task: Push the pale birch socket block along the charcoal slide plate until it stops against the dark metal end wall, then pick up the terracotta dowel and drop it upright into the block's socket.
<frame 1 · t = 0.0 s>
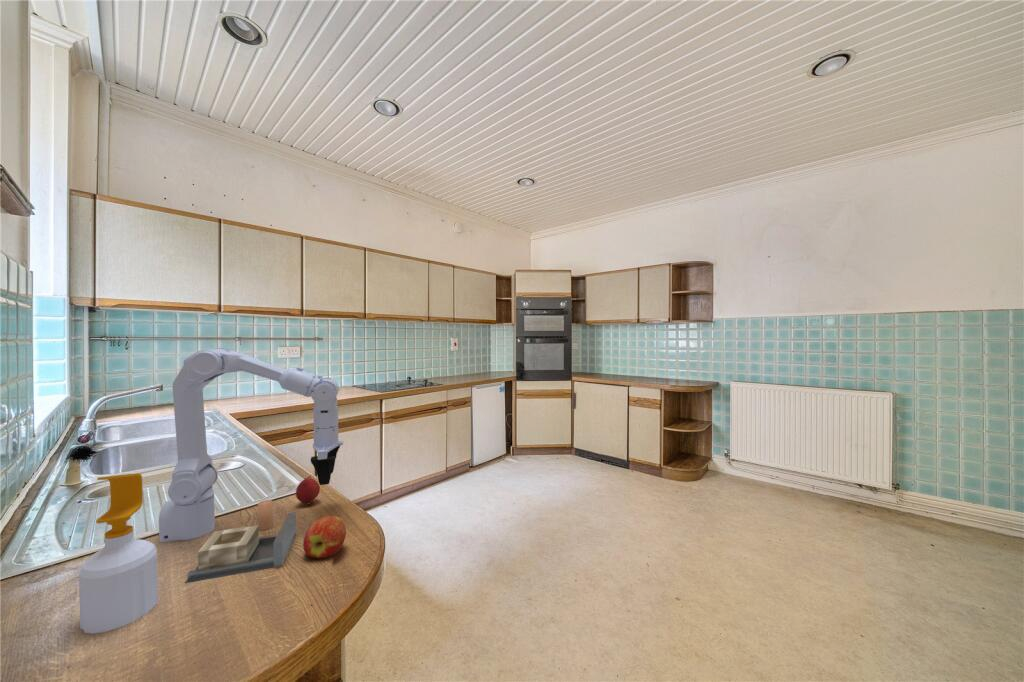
hand: (326, 478, 98), 10 cm above the counter, tool pointing down, fingers open, 7 cm apart
apple: (326, 555, 82), on the counter
slide base: (246, 560, 80), on the counter
dowel: (265, 531, 91), on the counter
soap bottle: (121, 619, 64), on the counter
sliding block: (230, 547, 79), point 3 cm above the counter, slide at 5.0 cm
onion: (308, 504, 106), on the counter
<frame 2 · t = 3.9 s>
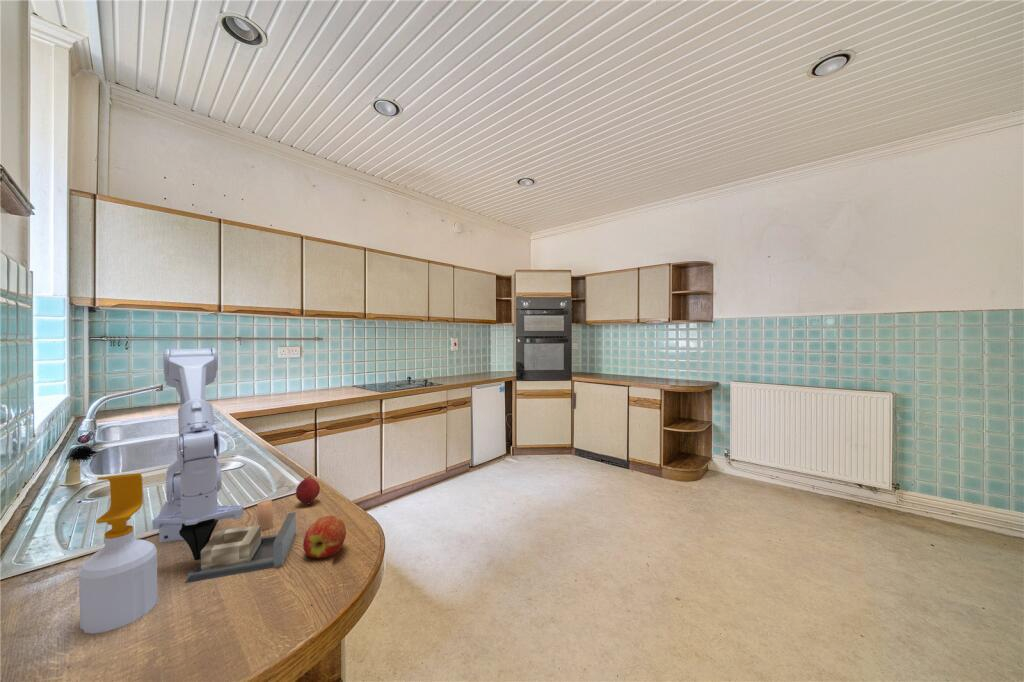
hand: (200, 557, 77), 2 cm above the counter, tool pointing down, fingers closed
sliding block: (232, 546, 79), point 3 cm above the counter, slide at 4.6 cm, touching gripper
everything else where it was.
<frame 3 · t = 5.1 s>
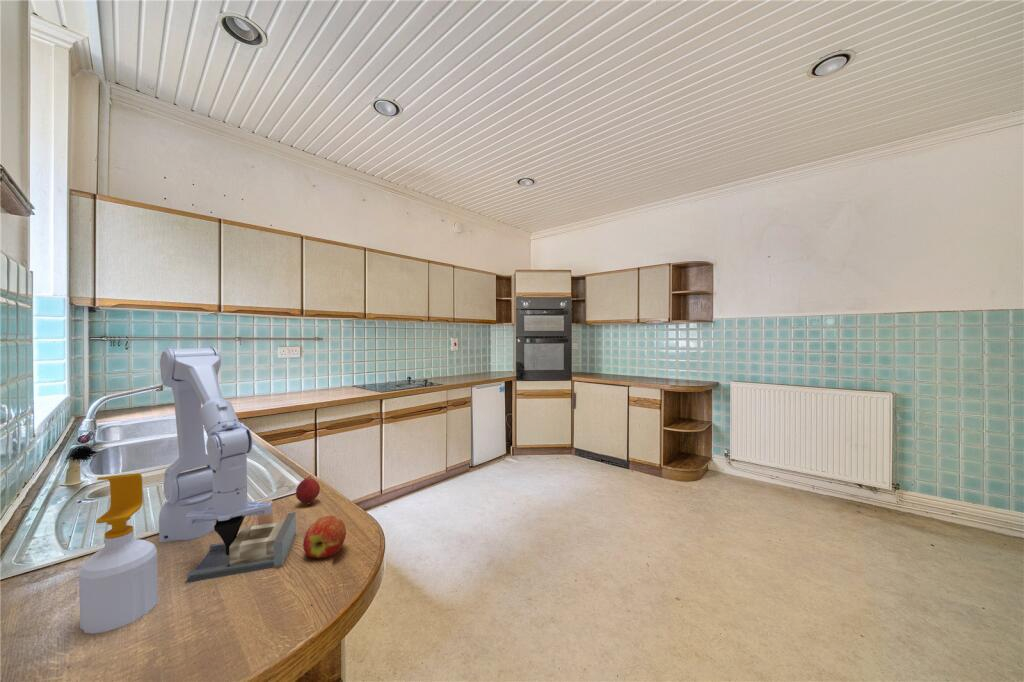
hand: (231, 552, 79), 2 cm above the counter, tool pointing down, fingers closed
sliding block: (259, 542, 81), point 3 cm above the counter, slide at -0.1 cm, touching gripper
everything else where it was.
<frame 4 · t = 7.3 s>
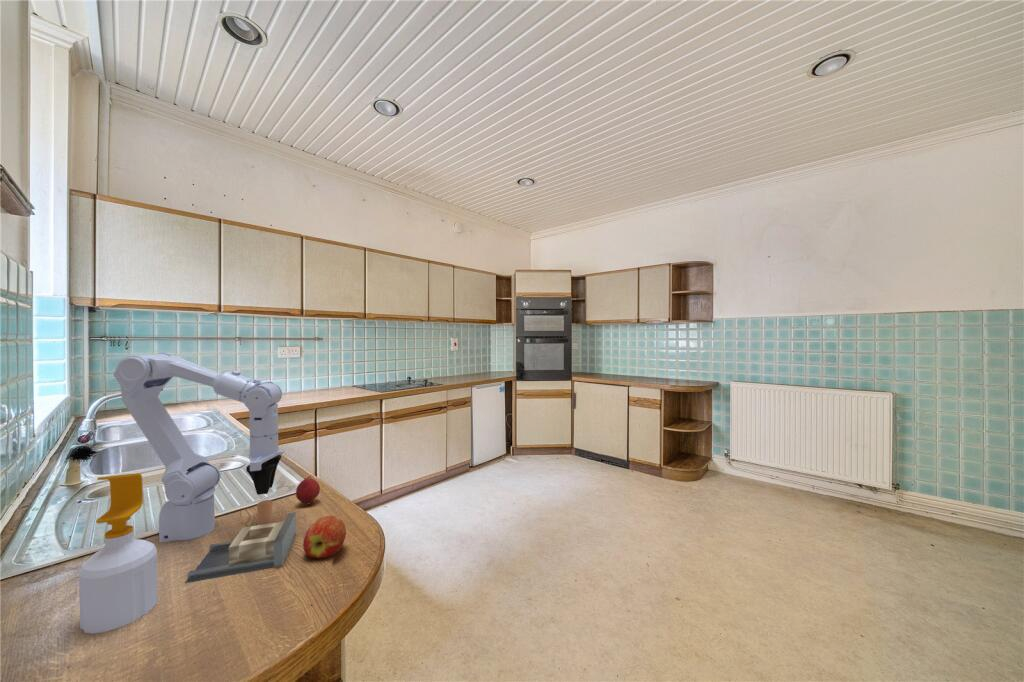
hand: (264, 490, 91), 10 cm above the counter, tool pointing down, fingers open, 3 cm apart
sliding block: (258, 542, 81), point 3 cm above the counter, slide at 0.0 cm
everything else where it was.
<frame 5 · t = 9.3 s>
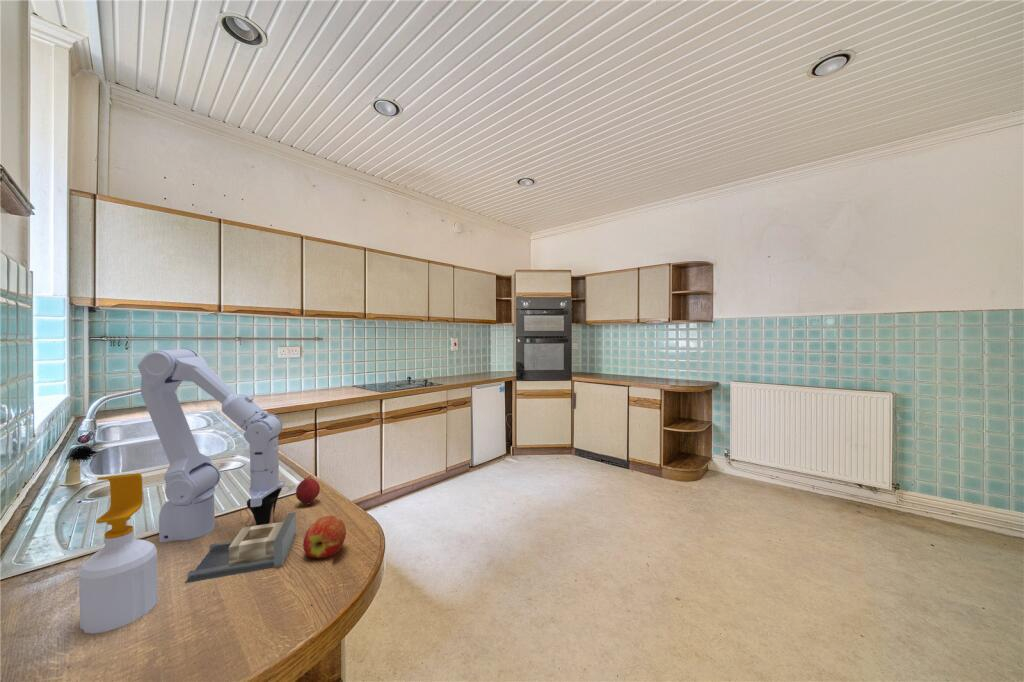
hand: (265, 523, 91), 2 cm above the counter, tool pointing down, fingers closed on dowel, 3 cm apart
dowel: (265, 531, 91), on the counter, touching gripper
everything else where it was.
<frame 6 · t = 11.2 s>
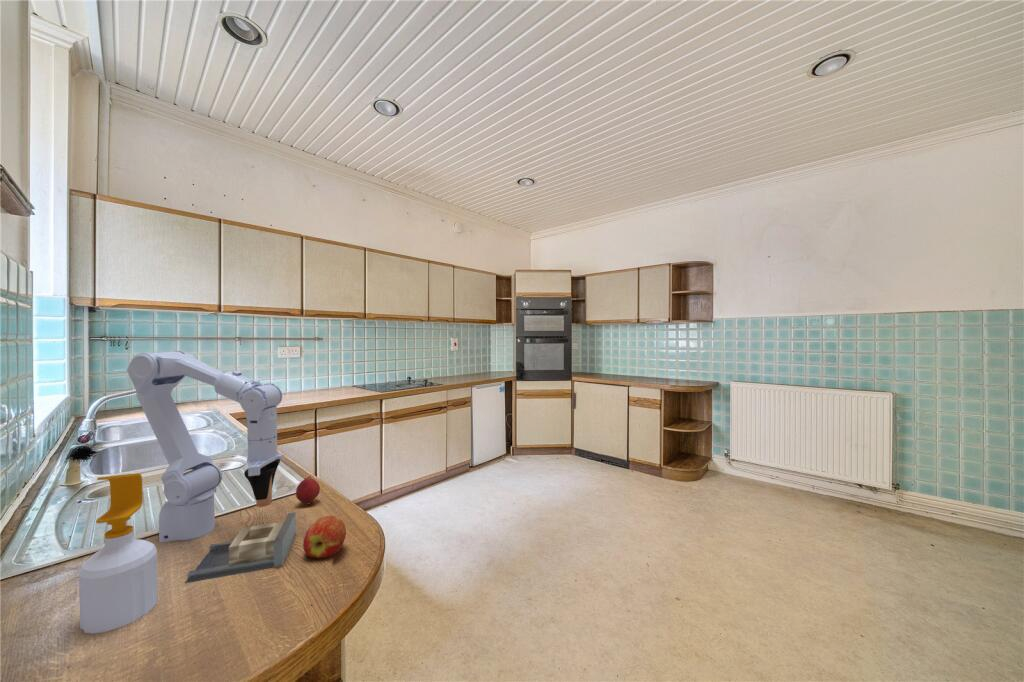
hand: (263, 495, 88), 10 cm above the counter, tool pointing down, fingers closed on dowel, 3 cm apart
dowel: (264, 503, 88), point 8 cm above the counter, touching gripper
everything else where it was.
when the fingers open (6 cm above the counter, at t = 12.6 s): dowel drops 2 cm, resting on sliding block.
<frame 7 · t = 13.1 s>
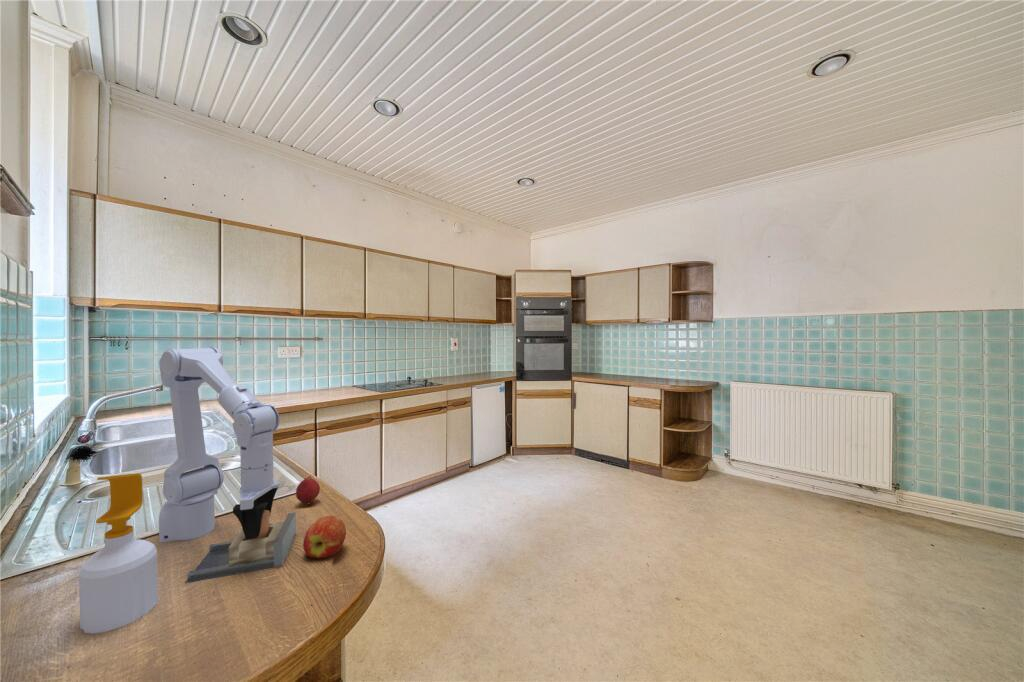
hand: (258, 528, 81), 6 cm above the counter, tool pointing down, fingers open, 7 cm apart
dowel: (258, 546, 81), point 3 cm above the counter, touching sliding block
sliding block: (258, 542, 81), point 3 cm above the counter, slide at 0.0 cm, touching dowel
everything else where it was.
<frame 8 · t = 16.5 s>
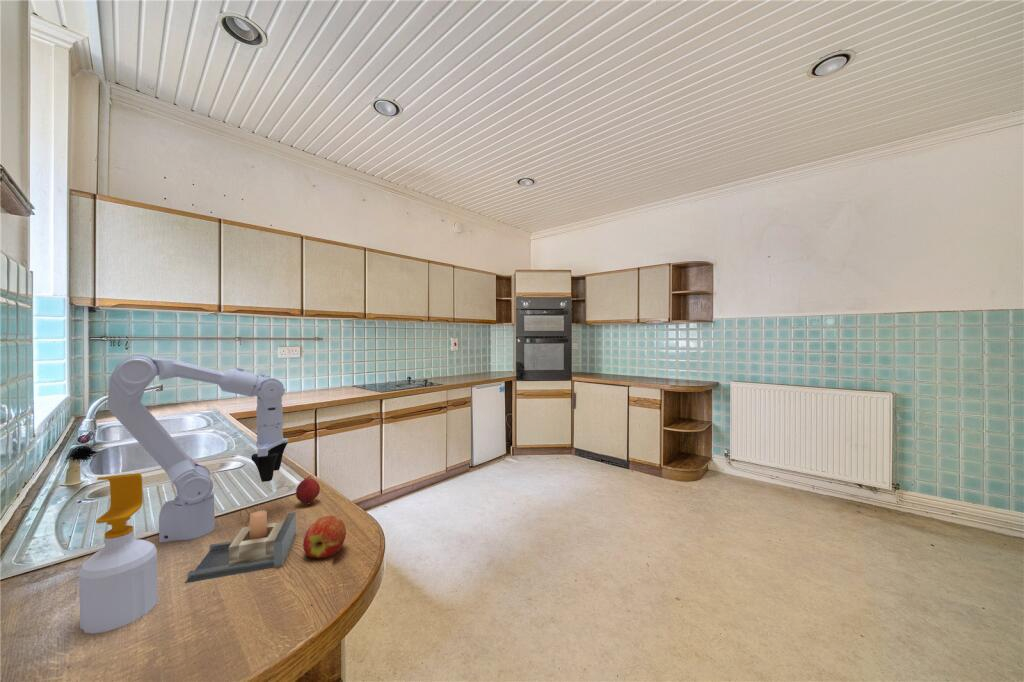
hand: (271, 475, 99), 10 cm above the counter, tool pointing down, fingers open, 7 cm apart
nothing on the counter moved.
at the end: sliding block slide at 0.0 cm; dowel 0.1 cm off-centre on the sliding block, point 1.5 cm above the sliding block's base; dowel tilted 0° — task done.
